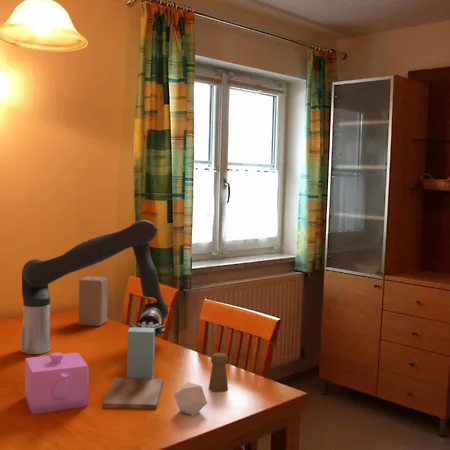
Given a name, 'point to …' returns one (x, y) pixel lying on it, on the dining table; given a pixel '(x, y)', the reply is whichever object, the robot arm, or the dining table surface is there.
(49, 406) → the teapot
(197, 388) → the die
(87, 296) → the block
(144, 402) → the board
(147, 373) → the pillar
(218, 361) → the cork
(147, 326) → the robot arm
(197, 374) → the dining table surface
